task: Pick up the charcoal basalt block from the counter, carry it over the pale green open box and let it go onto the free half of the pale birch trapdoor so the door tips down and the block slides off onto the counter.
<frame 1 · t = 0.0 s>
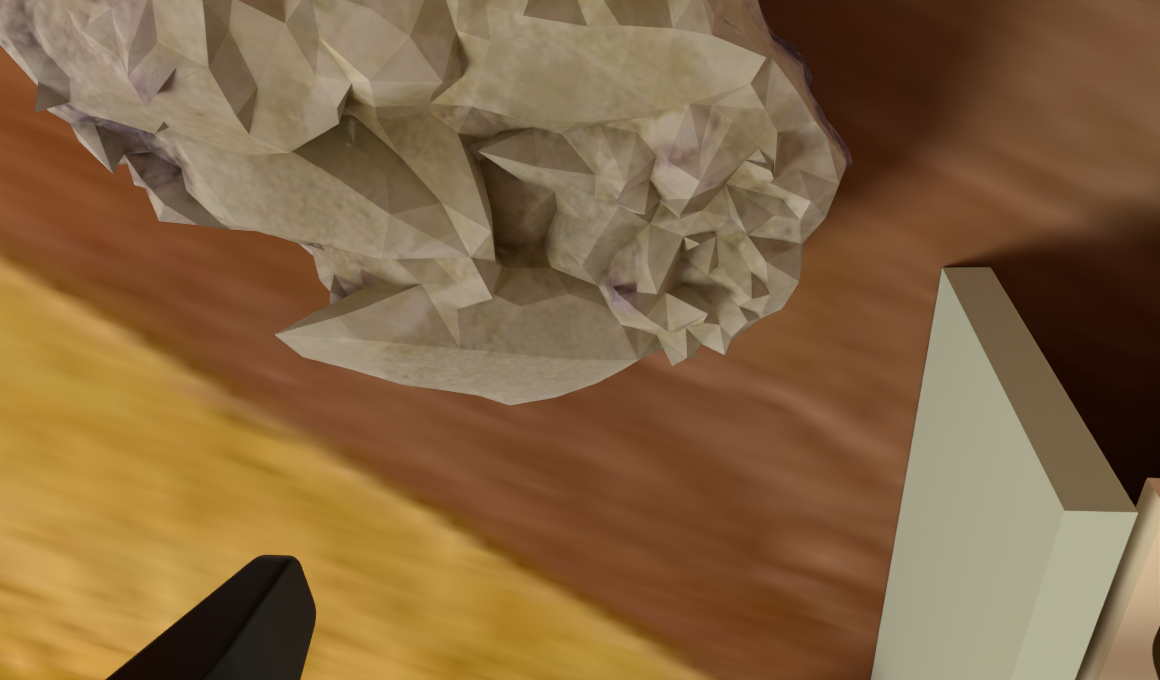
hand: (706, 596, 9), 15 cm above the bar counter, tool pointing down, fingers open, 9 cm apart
geode: (457, 66, 21), on the bar counter
pale green open box: (1130, 552, 27), on the bar counter
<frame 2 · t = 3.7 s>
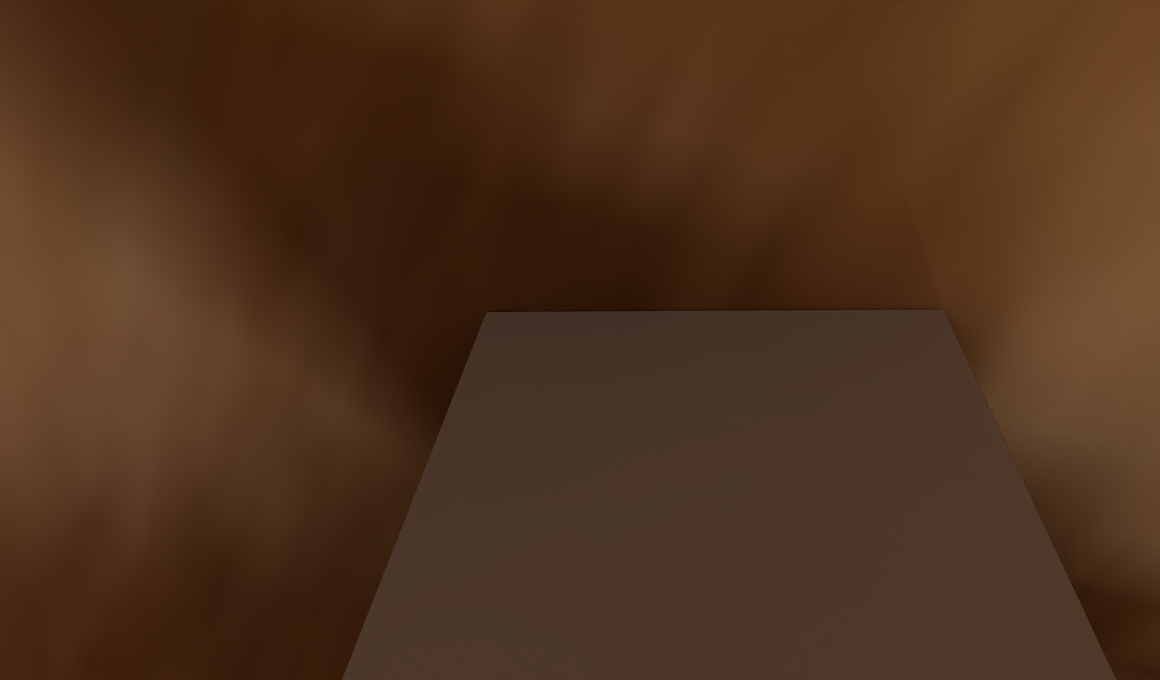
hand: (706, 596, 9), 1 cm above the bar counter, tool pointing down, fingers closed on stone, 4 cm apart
stone: (705, 512, 10), on the bar counter, touching gripper
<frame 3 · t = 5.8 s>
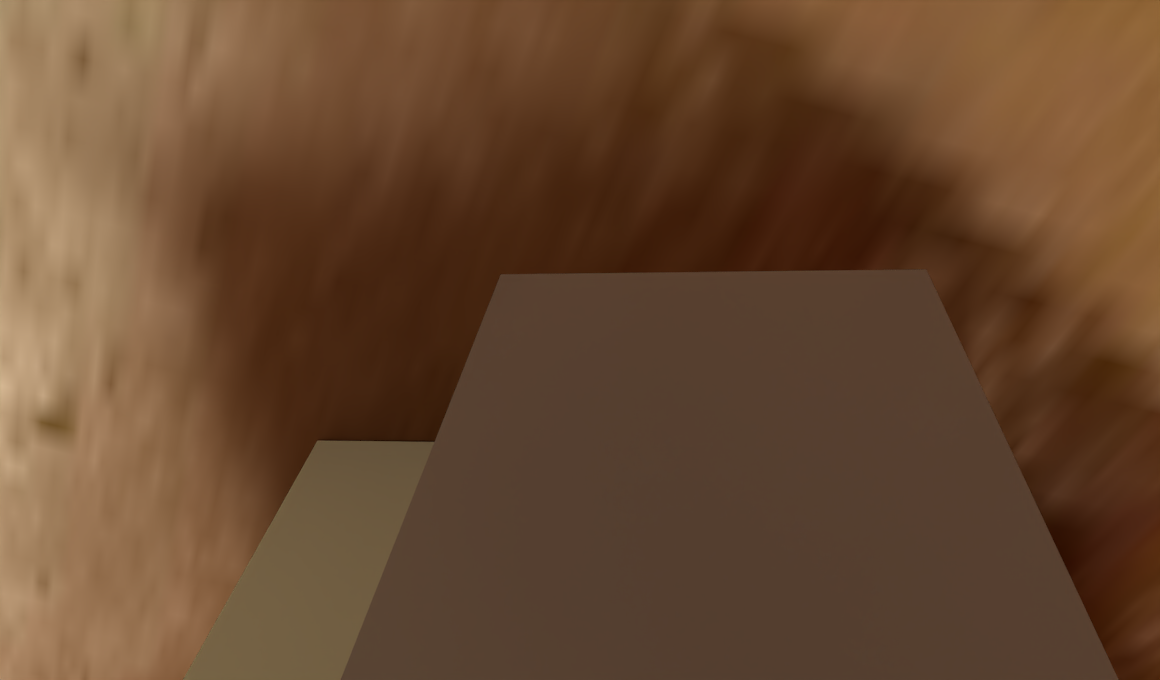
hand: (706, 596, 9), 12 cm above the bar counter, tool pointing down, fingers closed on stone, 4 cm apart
stone: (705, 466, 11), point 10 cm above the bar counter, touching gripper
pale green open box: (673, 615, 28), on the bar counter
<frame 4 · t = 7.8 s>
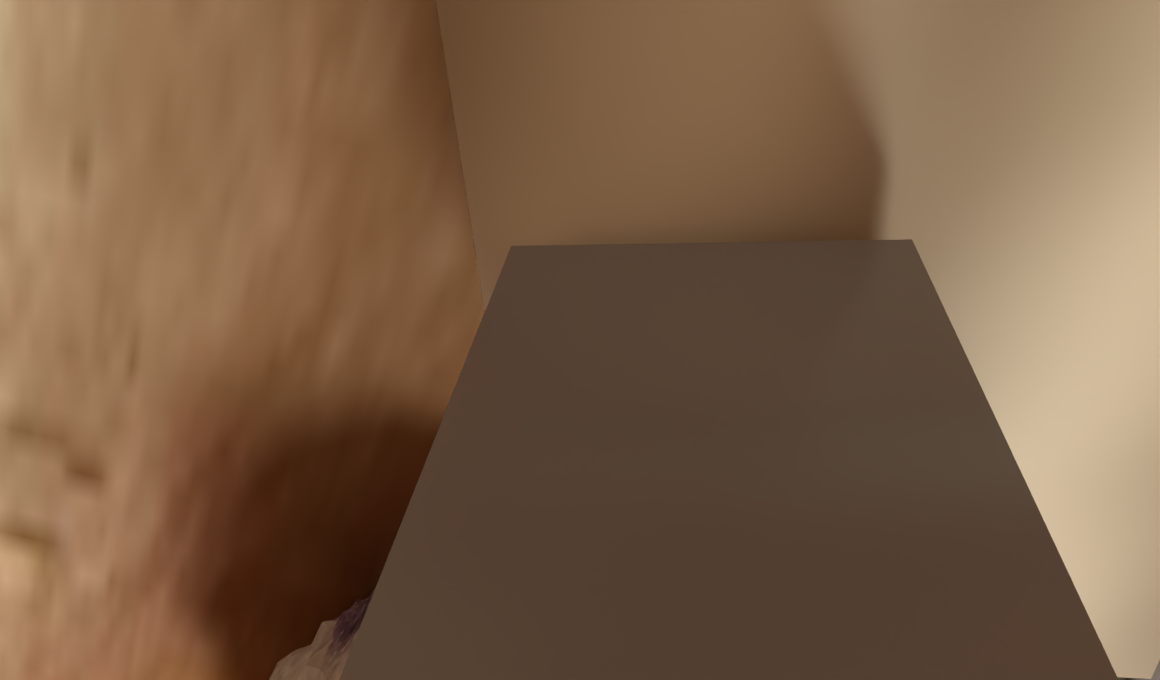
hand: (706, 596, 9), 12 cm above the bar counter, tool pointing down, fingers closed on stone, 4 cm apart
stone: (704, 431, 11), point 10 cm above the bar counter, touching gripper
geode: (469, 679, 31), on the bar counter
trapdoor: (1082, 387, 11), point 8 cm above the bar counter, hinge at 0.0°
when the fingers open (12 cm above the bar counter, at t = 7.8 s): stone drops 5 cm and tips over, point 4 cm above the bar counter.
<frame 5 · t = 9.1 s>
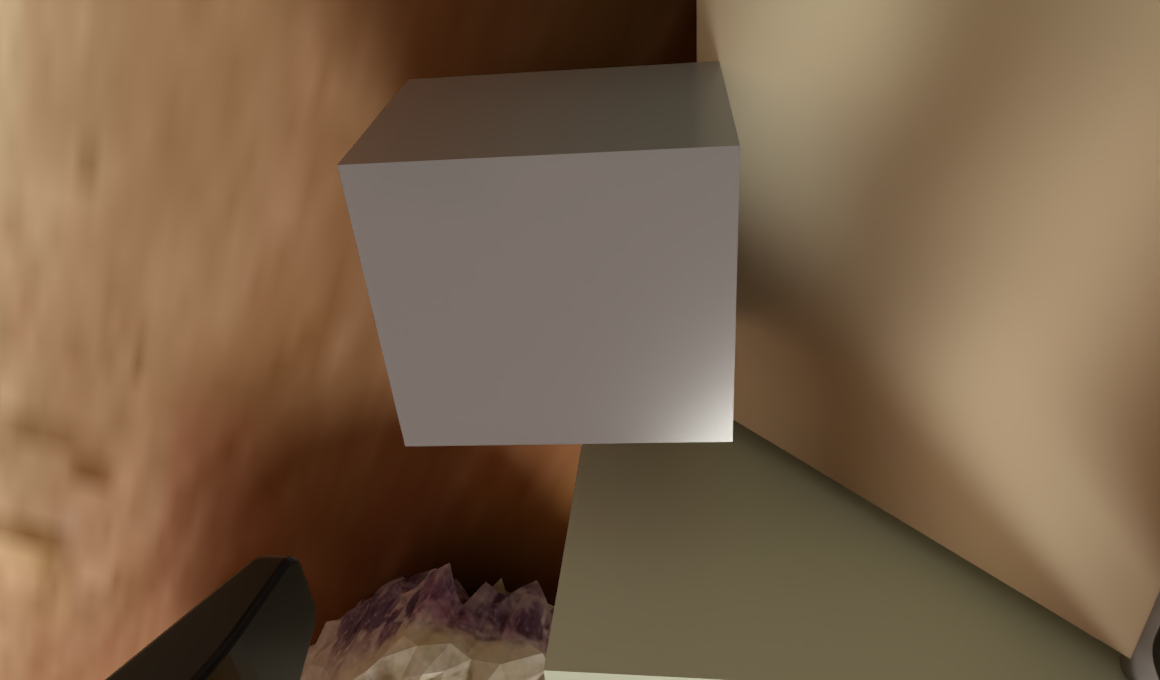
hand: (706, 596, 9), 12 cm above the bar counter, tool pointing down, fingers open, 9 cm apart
stone: (725, 246, 16), point 4 cm above the bar counter, tilted 88°
geode: (473, 679, 31), on the bar counter
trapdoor: (1091, 317, 13), point 7 cm above the bar counter, hinge at -45.0°
pale green open box: (1056, 150, 18), on the bar counter
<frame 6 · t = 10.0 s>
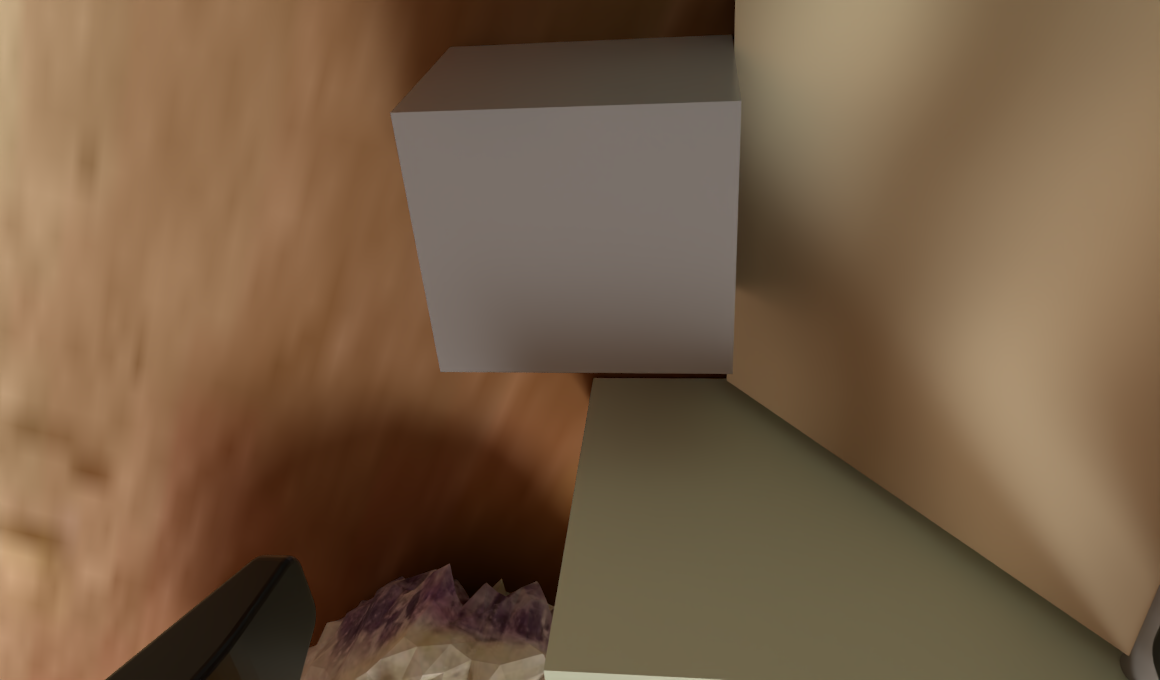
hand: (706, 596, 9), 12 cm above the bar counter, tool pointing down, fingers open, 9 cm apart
stone: (732, 199, 17), point 2 cm above the bar counter, tilted 90°
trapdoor: (1099, 311, 13), point 7 cm above the bar counter, hinge at -50.7°
pale green open box: (1056, 150, 18), on the bar counter
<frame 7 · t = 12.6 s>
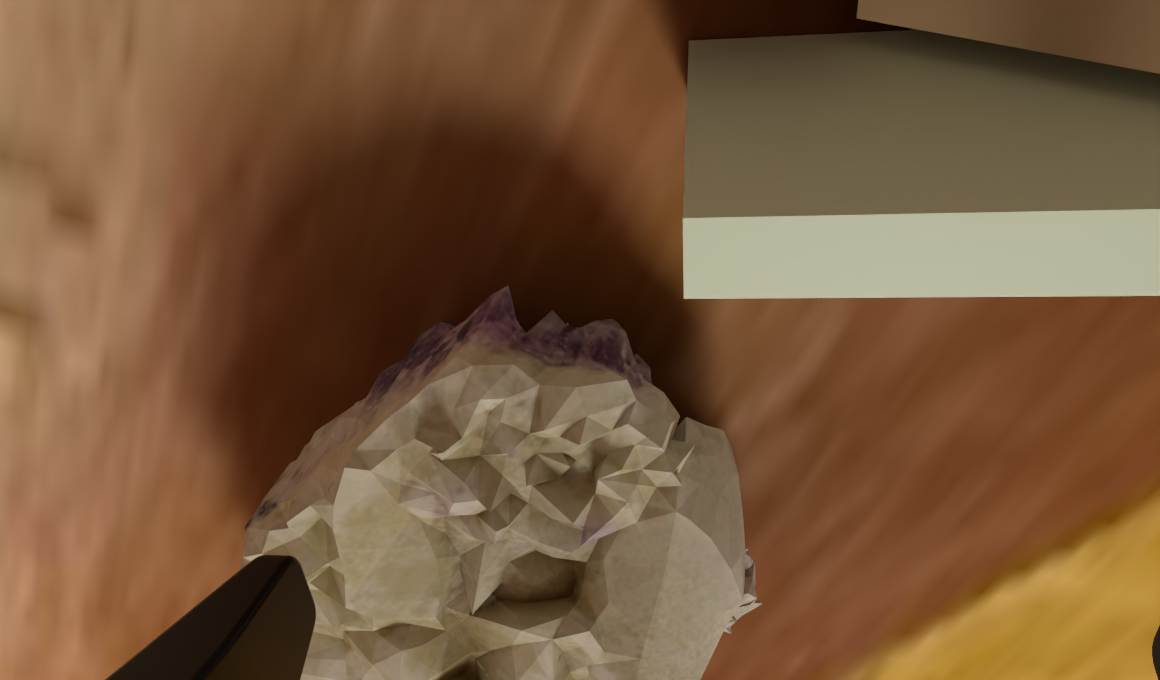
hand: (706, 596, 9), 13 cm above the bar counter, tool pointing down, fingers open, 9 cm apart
geode: (523, 499, 27), on the bar counter
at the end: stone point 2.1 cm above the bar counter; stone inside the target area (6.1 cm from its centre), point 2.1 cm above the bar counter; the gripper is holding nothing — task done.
